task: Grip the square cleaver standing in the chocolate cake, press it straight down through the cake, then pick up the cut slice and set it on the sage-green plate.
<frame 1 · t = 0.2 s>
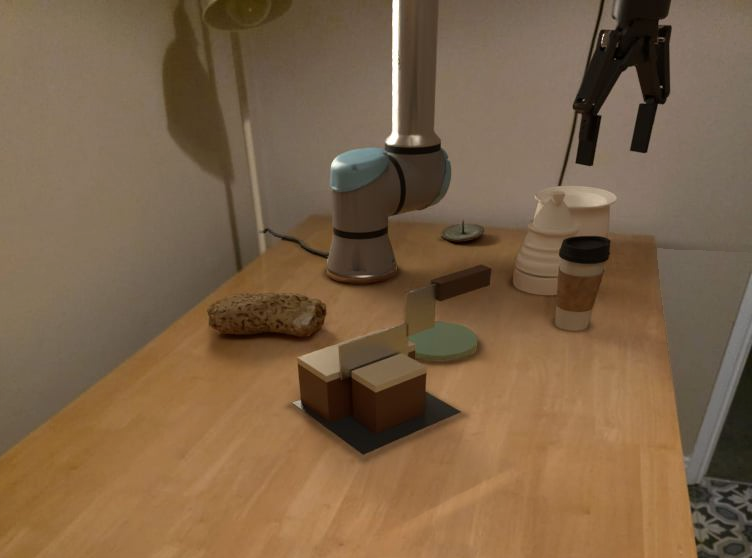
hand: (611, 158, 103), 28 cm above the table, tool pointing down, fingers open, 13 cm apart
honey pot: (543, 284, 139), on the table
serving plate: (436, 345, 116), on the table
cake: (375, 407, 99), resting on cake board
lid: (462, 239, 163), on the table
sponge: (267, 332, 122), on the table
square cleaver: (416, 320, 95), point 12 cm above the table, slide at 0.0 cm
coffee cup: (570, 325, 122), on the table
pot: (565, 253, 154), on the table
cake board: (375, 410, 99), on the table
cake slice: (389, 415, 97), point 1 cm above the table, touching cake board
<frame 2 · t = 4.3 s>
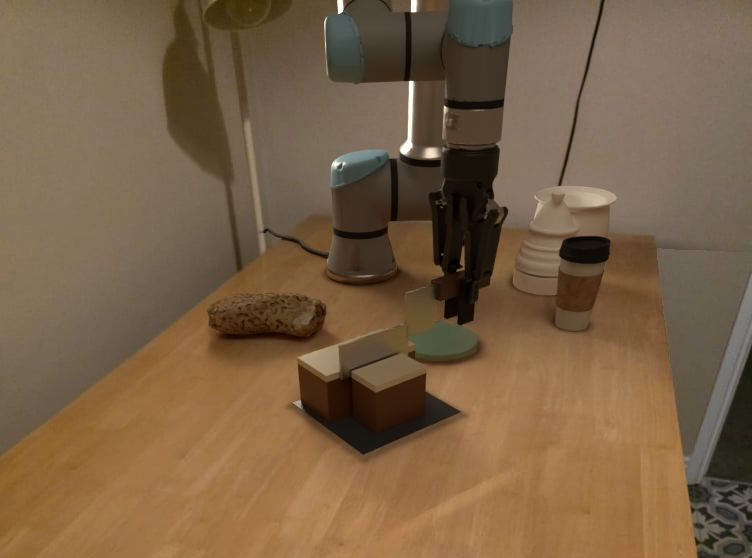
hand: (458, 319, 100), 10 cm above the table, tool pointing down, fingers closed on square cleaver, 2 cm apart
square cleaver: (416, 321, 95), point 12 cm above the table, slide at 0.0 cm, touching gripper
everything else where it was.
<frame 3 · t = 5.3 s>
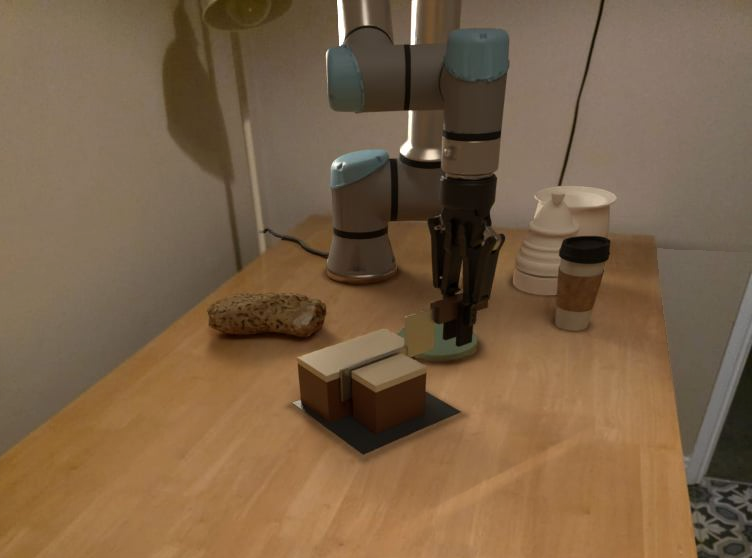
hand: (457, 340, 103), 7 cm above the table, tool pointing down, fingers closed on square cleaver, 2 cm apart
square cleaver: (415, 343, 97), point 9 cm above the table, slide at -3.4 cm, touching gripper
everything else where it was.
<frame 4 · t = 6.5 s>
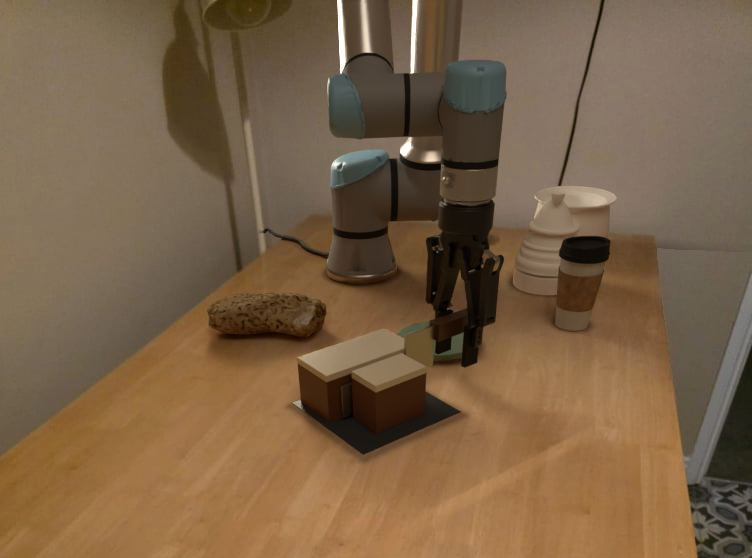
hand: (455, 357, 104), 4 cm above the table, tool pointing down, fingers open, 5 cm apart
square cleaver: (414, 360, 99), point 6 cm above the table, slide at -6.1 cm
everything else where it was.
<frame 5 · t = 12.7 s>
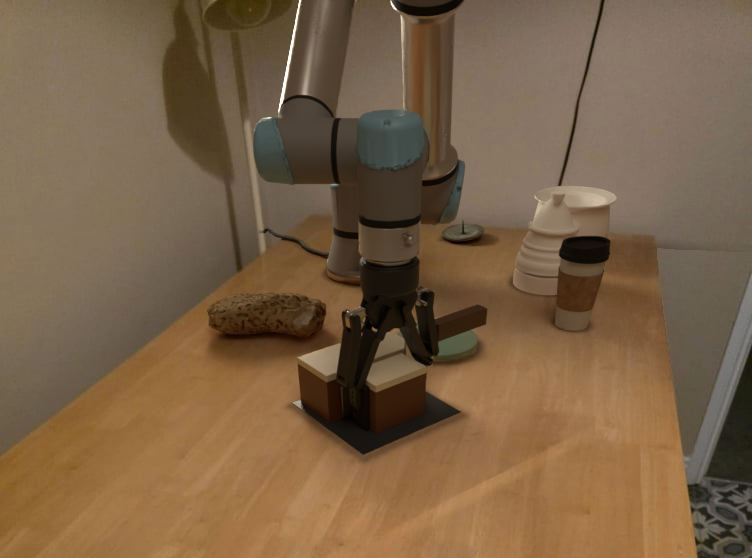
hand: (389, 414, 97), 1 cm above the table, tool pointing down, fingers closed on cake slice, 9 cm apart
cake slice: (389, 415, 97), point 1 cm above the table, touching cake board, gripper
everything else where it was.
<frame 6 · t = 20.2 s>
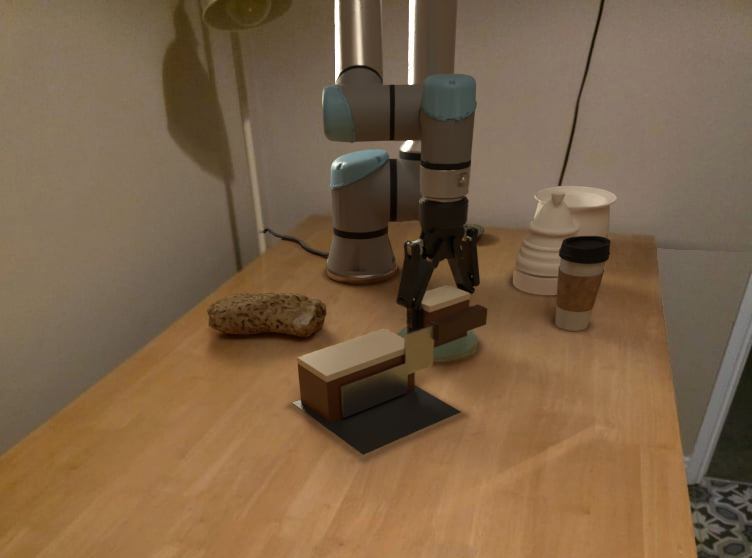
hand: (437, 336, 115), 2 cm above the table, tool pointing down, fingers closed on cake slice, 9 cm apart
cake slice: (437, 337, 115), point 2 cm above the table, touching gripper, serving plate
everything else where it was.
when the fingers open (3 cm above the table, at t = 29.8 s): cake slice drops 1 cm, resting on serving plate.
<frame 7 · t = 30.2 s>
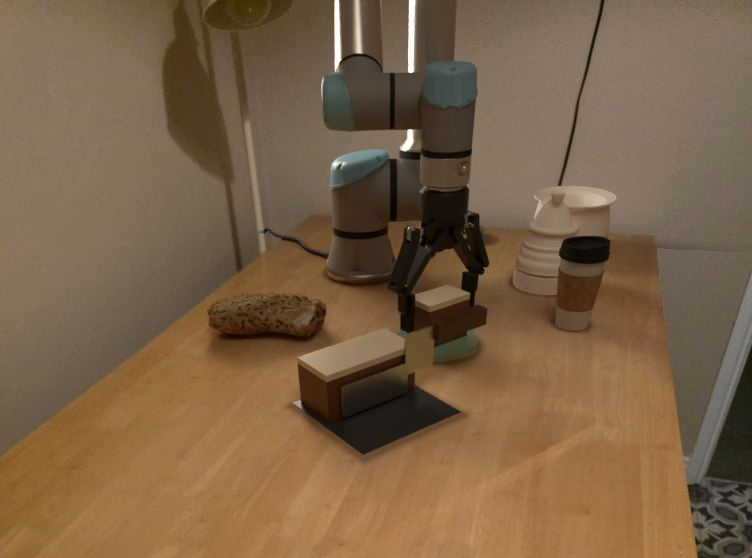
hand: (437, 321, 114), 4 cm above the table, tool pointing down, fingers open, 13 cm apart
cake slice: (437, 337, 115), point 2 cm above the table, touching serving plate
everything else where it was.
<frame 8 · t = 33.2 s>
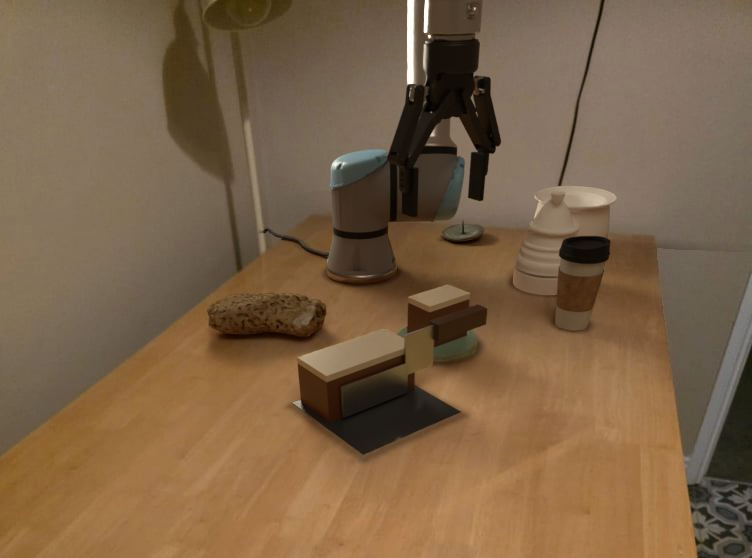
hand: (443, 207, 102), 23 cm above the table, tool pointing down, fingers open, 13 cm apart
nothing on the table moved.
at the end: square cleaver slide at -6.1 cm; cake slice inside the target area on the serving plate (0.0 cm from its centre), point 1.5 cm above the serving plate's base; cake slice tilted 0° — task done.
